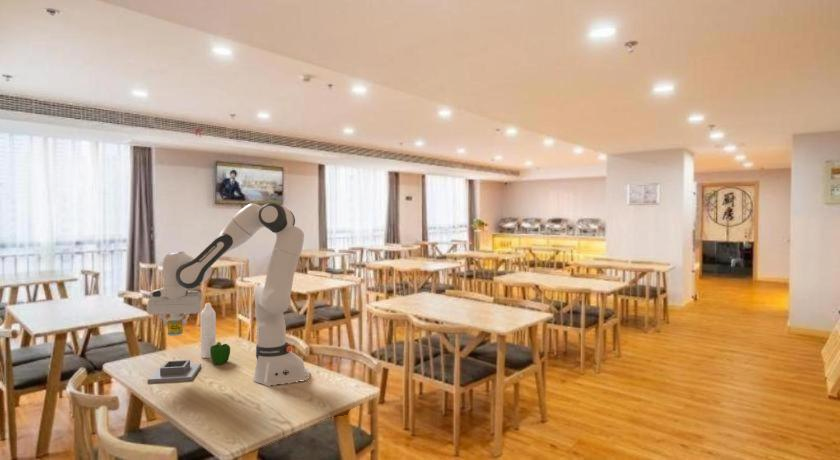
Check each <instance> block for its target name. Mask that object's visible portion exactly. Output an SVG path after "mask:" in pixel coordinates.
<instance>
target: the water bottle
mask: <svg viewBox="0 0 840 460" xmlns="http://www.w3.org/2000/svg"><path fill="white" fill-rule="evenodd" d="M199 315H200V357H201V358H202V359H210V358H211V353H210V348H211V346H215V345H216V344H217V341H216V340H217V338H216V337H217V322H216V321H217V320H216V317H217V314H216V310H215V309H214V308H213V307H212V304H211V302H206V303H205V305H204V307H203V308H202V311H201V312H200V314H199ZM211 359H212V358H211Z"/></svg>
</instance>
